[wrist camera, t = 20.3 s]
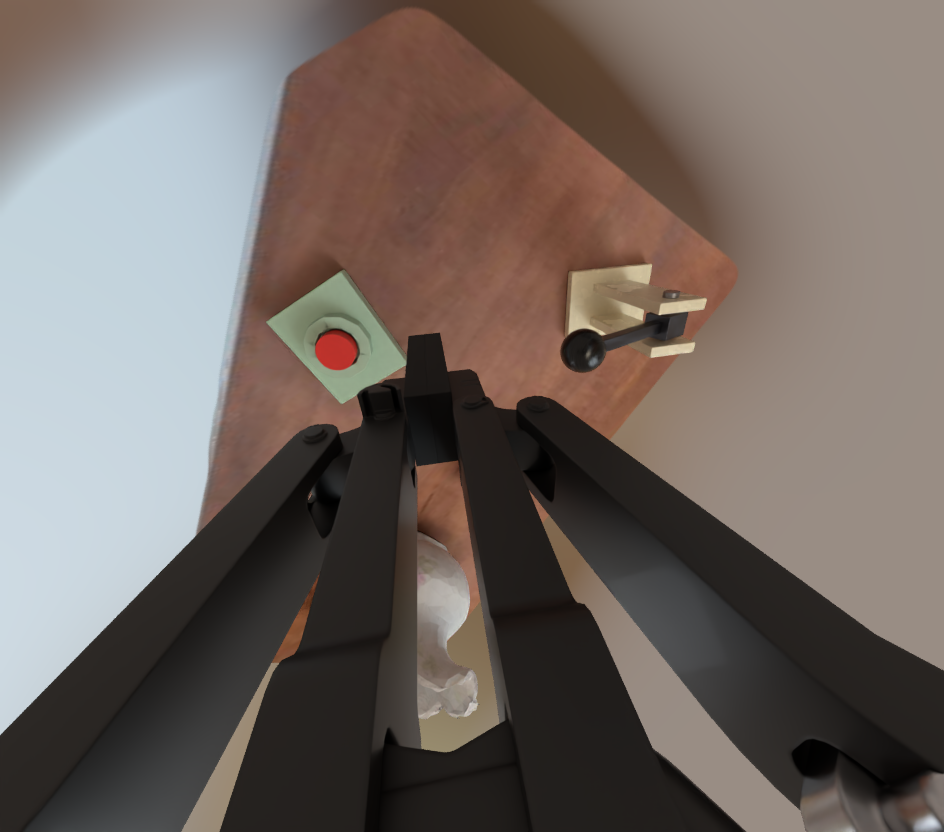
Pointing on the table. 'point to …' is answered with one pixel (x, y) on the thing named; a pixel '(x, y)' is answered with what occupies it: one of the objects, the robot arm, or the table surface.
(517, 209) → the table surface
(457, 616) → the ceramic pitcher
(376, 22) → the table surface
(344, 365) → the button
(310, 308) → the button block
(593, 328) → the cream lever bracket
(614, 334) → the lever
